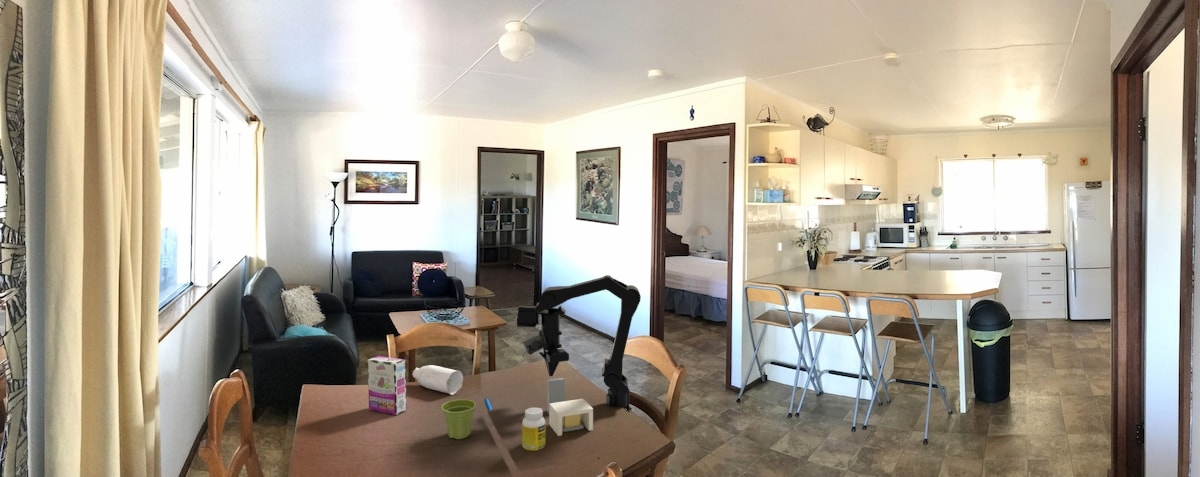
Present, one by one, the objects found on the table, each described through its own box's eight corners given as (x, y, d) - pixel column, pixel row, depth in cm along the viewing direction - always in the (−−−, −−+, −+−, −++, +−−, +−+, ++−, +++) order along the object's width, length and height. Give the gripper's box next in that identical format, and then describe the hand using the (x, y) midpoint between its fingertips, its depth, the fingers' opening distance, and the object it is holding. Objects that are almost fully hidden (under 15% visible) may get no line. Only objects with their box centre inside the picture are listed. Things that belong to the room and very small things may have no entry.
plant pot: (446, 445, 155) (445, 414, 154) (439, 431, 163) (438, 402, 163) (480, 438, 159) (479, 408, 159) (471, 425, 168) (470, 397, 167)
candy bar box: (407, 410, 179) (406, 359, 177) (396, 416, 174) (395, 363, 173) (379, 404, 183) (378, 354, 181) (368, 410, 178) (366, 359, 177)
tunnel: (574, 415, 176) (574, 390, 175) (592, 434, 162) (593, 408, 161) (542, 420, 172) (542, 395, 171) (558, 440, 158) (558, 413, 157)
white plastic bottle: (425, 380, 206) (424, 359, 205) (464, 390, 196) (463, 368, 196) (407, 387, 199) (407, 365, 198) (447, 397, 189) (446, 374, 189)
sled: (564, 410, 178) (564, 377, 177) (583, 431, 163) (583, 396, 162) (546, 412, 176) (545, 379, 175) (563, 435, 161) (563, 398, 160)
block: (574, 421, 167) (574, 406, 167) (579, 427, 163) (579, 412, 163) (559, 423, 166) (559, 408, 165) (564, 430, 162) (565, 414, 161)
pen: (493, 422, 171) (493, 418, 171) (484, 399, 189) (484, 396, 189) (496, 422, 171) (496, 418, 171) (487, 399, 189) (487, 396, 189)
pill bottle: (541, 457, 149) (541, 416, 148) (519, 454, 150) (518, 414, 149) (548, 446, 155) (548, 407, 154) (526, 444, 156) (526, 405, 155)
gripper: (518, 323, 185) (518, 370, 186) (533, 337, 168) (534, 389, 169) (550, 320, 189) (551, 366, 190) (569, 333, 172) (569, 384, 173)
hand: (550, 375), depth 181 cm, fingers closed
